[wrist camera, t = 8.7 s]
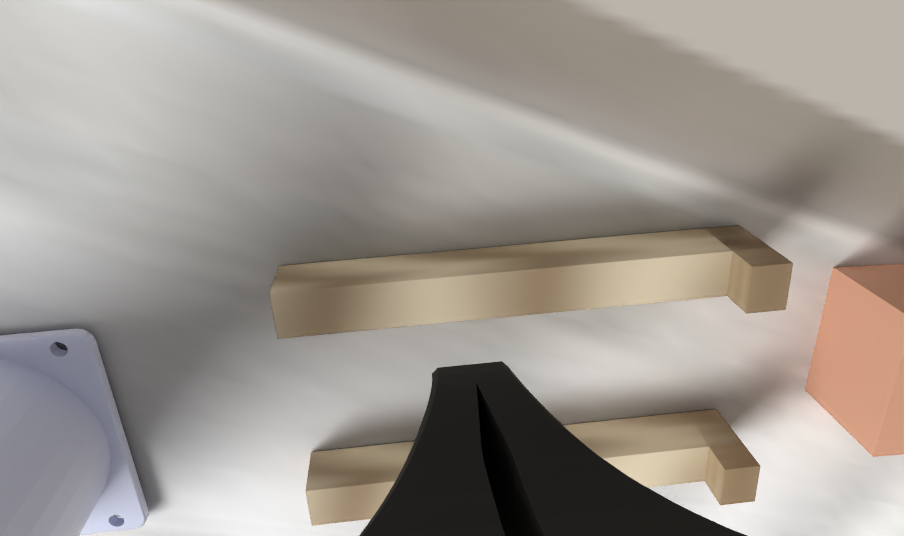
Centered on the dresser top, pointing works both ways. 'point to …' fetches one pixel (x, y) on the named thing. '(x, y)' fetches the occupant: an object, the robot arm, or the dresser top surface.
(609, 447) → the chute
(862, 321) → the block
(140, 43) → the dresser top surface
